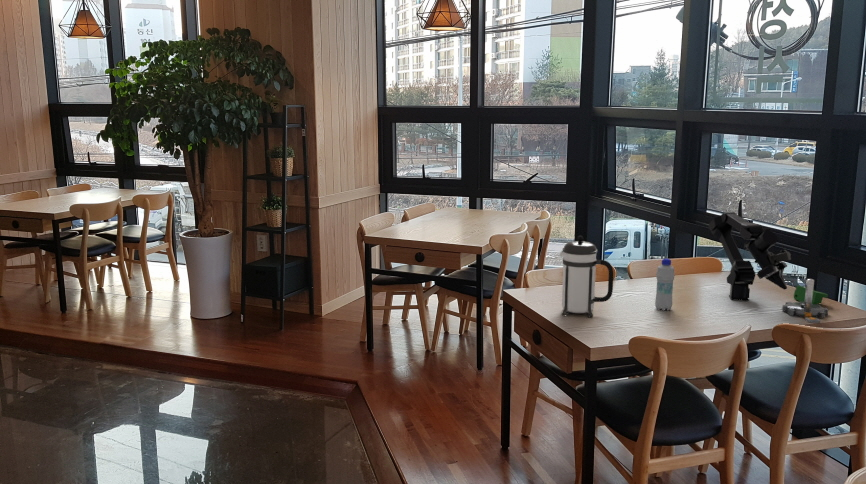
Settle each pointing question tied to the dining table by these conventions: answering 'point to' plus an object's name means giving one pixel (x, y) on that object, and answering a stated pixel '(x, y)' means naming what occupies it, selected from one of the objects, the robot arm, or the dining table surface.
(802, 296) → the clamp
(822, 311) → the sprocket
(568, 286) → the coffee press
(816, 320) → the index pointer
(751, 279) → the robot arm
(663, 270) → the bottle
